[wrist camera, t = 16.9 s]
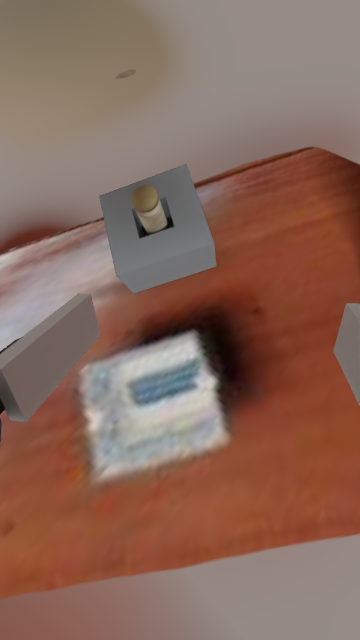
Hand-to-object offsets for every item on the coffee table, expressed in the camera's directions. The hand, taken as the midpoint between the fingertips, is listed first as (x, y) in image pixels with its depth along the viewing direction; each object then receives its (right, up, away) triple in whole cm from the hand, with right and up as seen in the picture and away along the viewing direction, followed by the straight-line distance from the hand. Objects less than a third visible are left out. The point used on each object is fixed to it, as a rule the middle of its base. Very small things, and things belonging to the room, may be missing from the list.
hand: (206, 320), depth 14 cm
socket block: (-4, +15, +37) cm, 40 cm away
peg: (-5, +15, +36) cm, 40 cm away
